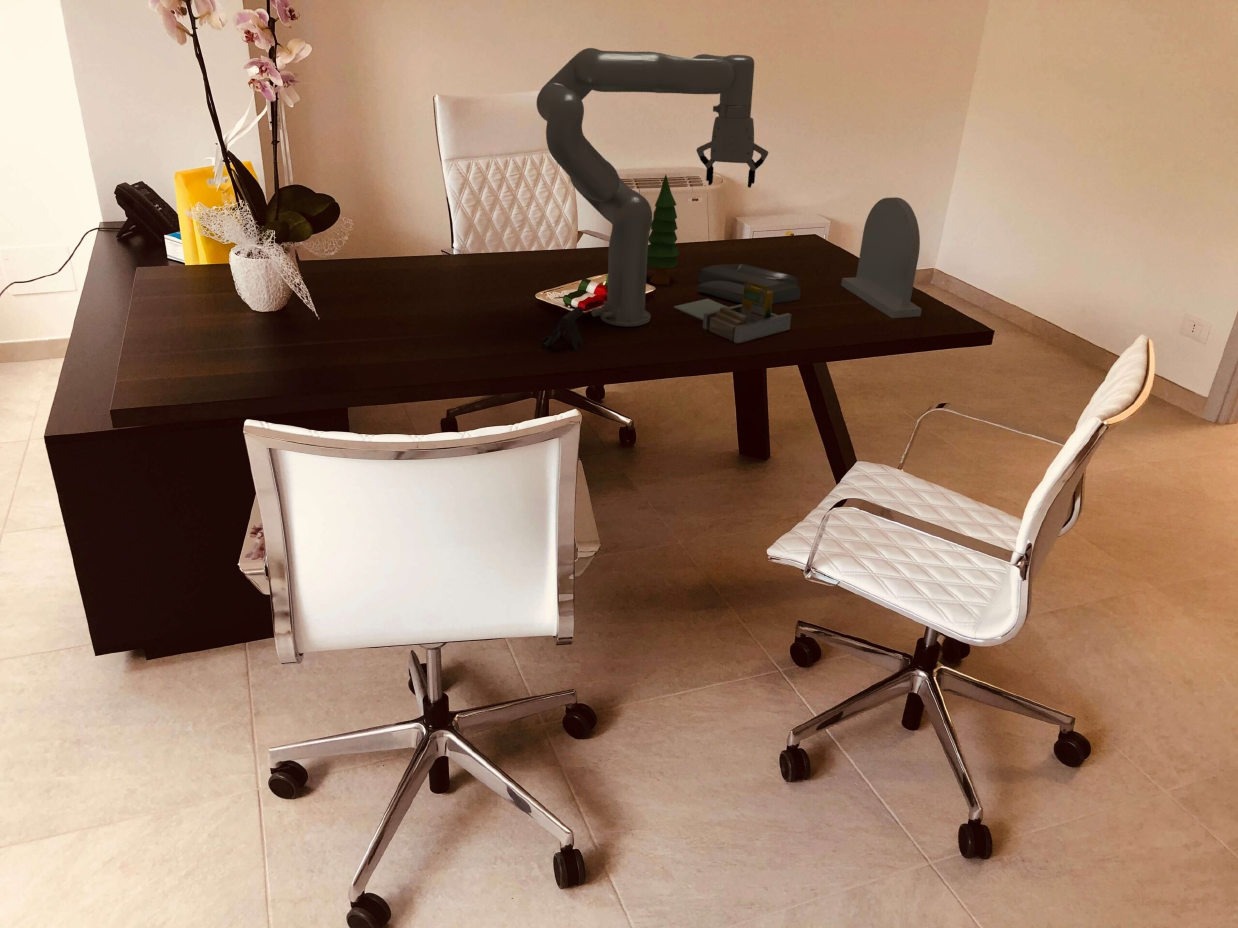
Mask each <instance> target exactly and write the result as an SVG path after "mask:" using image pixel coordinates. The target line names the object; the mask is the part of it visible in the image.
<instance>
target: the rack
mask: <svg viewBox="0 0 1238 928" xmlns="http://www.w3.org/2000/svg"><path fill="white" fill-rule="evenodd" d="M727 308H728V309H731V310H733V311H736V312H738V313H741V311H742V304H740V303H739V304H736V305H732V306H727ZM717 312H720V309H719V310H715V311H711V312H706V313H704V318H703V320H702V329H703V330H705V331H707V330H710V318H712V317H715V313H717ZM791 320H792V313H789V312H786V313H782V314H779V315H778V314H776V313H773V312H771V317H770V318H766V319H763V320H759V321H755V322H751V323H747V324H743V325H739V326H735V335H734V340H733V343H735V344H741V343H745V342H749V341H752V340H757V339H761V338H764V337H767V336H772V335H775V334H779V333H783V332H785V331H790V328H791Z"/></svg>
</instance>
